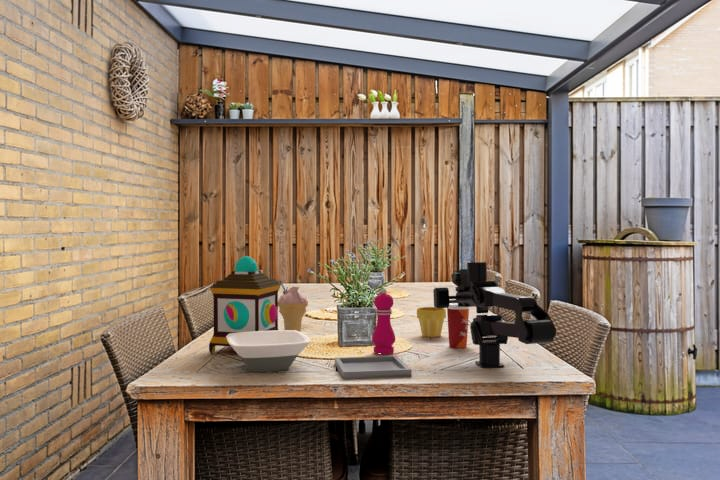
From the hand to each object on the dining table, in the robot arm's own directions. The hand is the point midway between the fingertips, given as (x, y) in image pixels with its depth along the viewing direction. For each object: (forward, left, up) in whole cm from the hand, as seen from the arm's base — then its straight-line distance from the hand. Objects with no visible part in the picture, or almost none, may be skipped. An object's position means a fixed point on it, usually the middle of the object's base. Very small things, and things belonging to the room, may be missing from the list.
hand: (451, 297), depth 203 cm
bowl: (-17, +59, -17) cm, 64 cm away
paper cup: (+3, -3, -17) cm, 17 cm away
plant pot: (+24, 0, -17) cm, 29 cm away
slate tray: (-25, +31, -17) cm, 43 cm away
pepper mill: (-3, +23, -17) cm, 29 cm away
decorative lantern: (+8, +65, -17) cm, 67 cm away
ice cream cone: (+31, +49, -17) cm, 60 cm away
